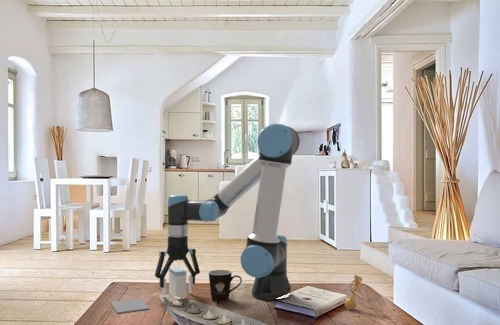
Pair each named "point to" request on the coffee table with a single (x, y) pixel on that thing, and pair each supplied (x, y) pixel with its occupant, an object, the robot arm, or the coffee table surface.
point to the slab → (177, 282)
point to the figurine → (350, 302)
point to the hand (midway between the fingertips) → (177, 294)
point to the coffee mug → (221, 284)
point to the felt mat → (129, 305)
